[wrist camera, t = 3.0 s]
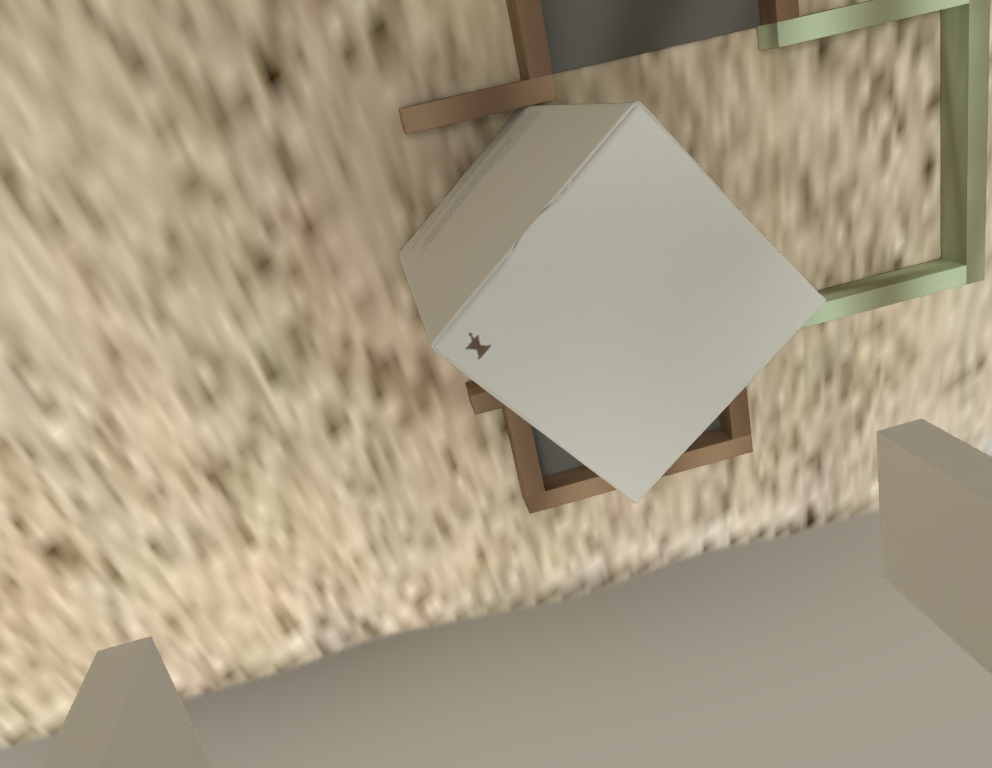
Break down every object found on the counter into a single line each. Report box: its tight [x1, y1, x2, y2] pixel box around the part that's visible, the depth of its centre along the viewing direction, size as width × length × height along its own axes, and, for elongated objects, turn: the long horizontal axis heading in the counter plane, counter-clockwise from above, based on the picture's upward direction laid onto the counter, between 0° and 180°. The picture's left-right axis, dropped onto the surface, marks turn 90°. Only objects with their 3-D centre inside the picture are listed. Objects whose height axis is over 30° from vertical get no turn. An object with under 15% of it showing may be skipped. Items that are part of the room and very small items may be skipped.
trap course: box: [399, 0, 990, 513], centre depth 36 cm, size 26×26×2 cm
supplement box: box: [399, 101, 826, 503], centre depth 30 cm, size 9×9×15 cm
